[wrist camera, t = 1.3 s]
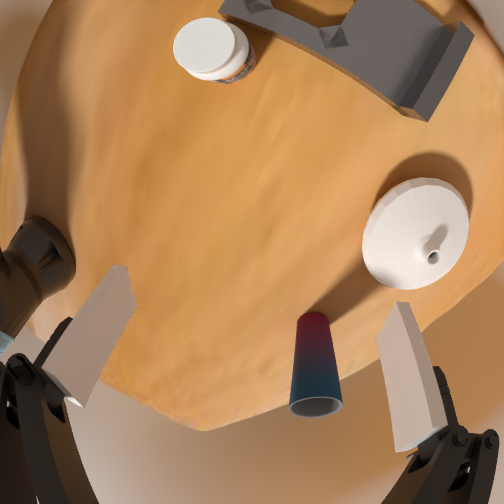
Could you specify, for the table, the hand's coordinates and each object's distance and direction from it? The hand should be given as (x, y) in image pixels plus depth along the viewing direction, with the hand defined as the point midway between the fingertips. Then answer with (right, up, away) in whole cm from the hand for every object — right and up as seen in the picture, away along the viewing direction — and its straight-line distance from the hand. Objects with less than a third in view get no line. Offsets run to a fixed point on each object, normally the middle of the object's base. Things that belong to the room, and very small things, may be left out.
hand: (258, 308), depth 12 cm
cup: (+9, -8, +29) cm, 32 cm away
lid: (+21, +6, +18) cm, 28 cm away
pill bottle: (-3, +23, +11) cm, 25 cm away
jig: (+9, +27, +6) cm, 29 cm away
